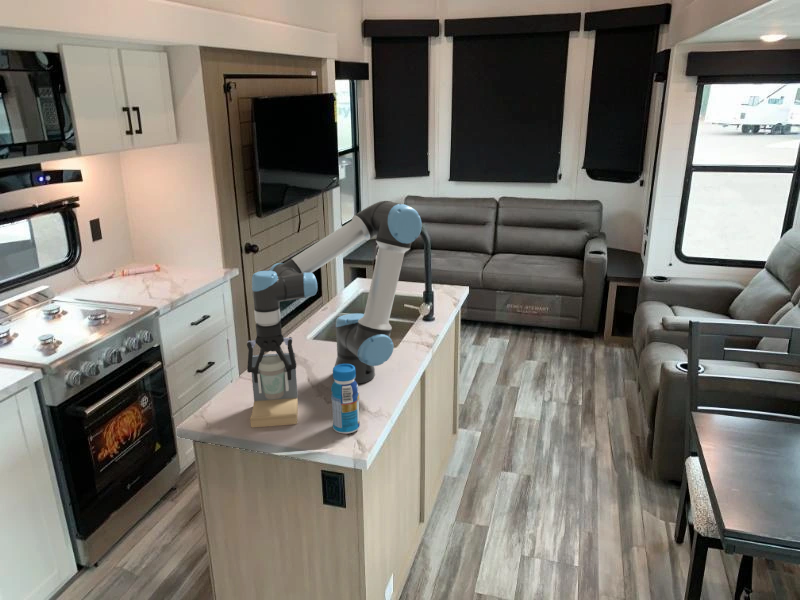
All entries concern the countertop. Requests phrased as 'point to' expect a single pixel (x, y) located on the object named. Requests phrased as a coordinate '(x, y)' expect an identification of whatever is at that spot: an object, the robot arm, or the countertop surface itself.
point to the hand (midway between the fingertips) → (274, 390)
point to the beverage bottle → (345, 399)
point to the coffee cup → (272, 376)
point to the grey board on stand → (275, 402)
